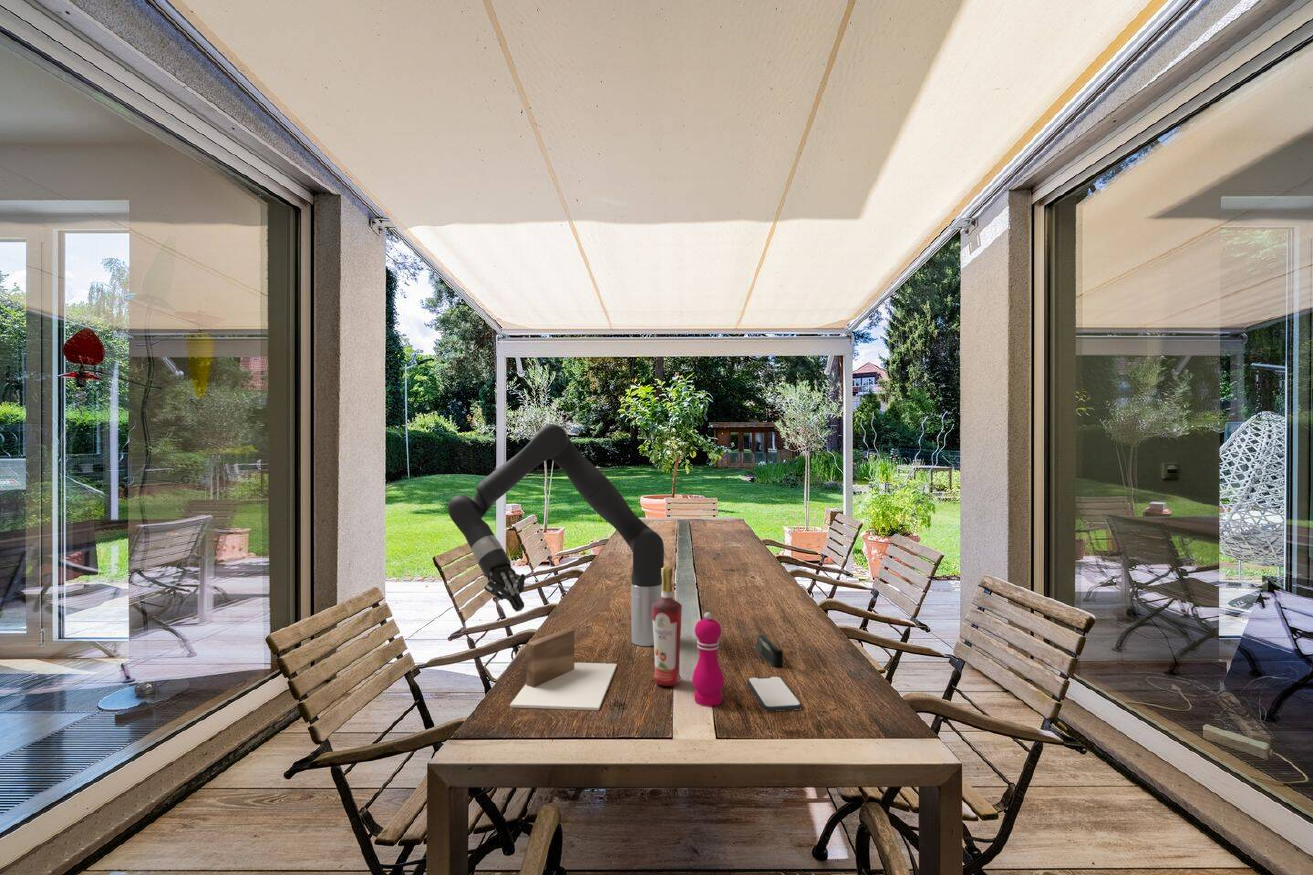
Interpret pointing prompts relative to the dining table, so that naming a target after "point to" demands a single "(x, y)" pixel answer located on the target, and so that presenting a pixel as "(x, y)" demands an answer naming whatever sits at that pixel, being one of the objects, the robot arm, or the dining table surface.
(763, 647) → the mobile phone
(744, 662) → the dining table surface
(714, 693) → the pepper mill
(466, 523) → the robot arm
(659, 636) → the liquor
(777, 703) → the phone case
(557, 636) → the slab
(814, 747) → the dining table surface
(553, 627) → the dining table surface
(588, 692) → the mat
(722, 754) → the dining table surface
